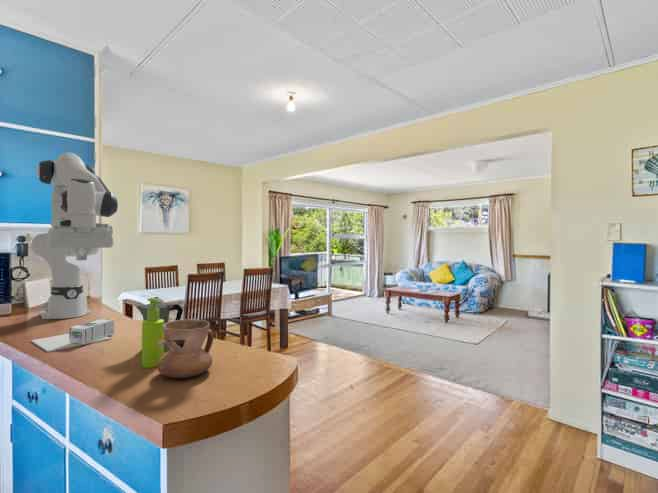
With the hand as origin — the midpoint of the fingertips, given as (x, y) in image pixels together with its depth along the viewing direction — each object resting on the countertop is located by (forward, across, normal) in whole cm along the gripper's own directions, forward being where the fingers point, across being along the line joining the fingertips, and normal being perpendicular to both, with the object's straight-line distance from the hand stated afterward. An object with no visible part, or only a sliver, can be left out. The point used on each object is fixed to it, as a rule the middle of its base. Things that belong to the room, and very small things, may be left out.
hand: (81, 260), depth 129 cm
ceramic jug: (+29, -7, +59) cm, 66 cm away
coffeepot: (+29, -12, +34) cm, 47 cm away
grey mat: (+29, +3, 0) cm, 29 cm away
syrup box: (+26, -8, +2) cm, 27 cm away
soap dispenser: (+29, -4, +46) cm, 55 cm away
